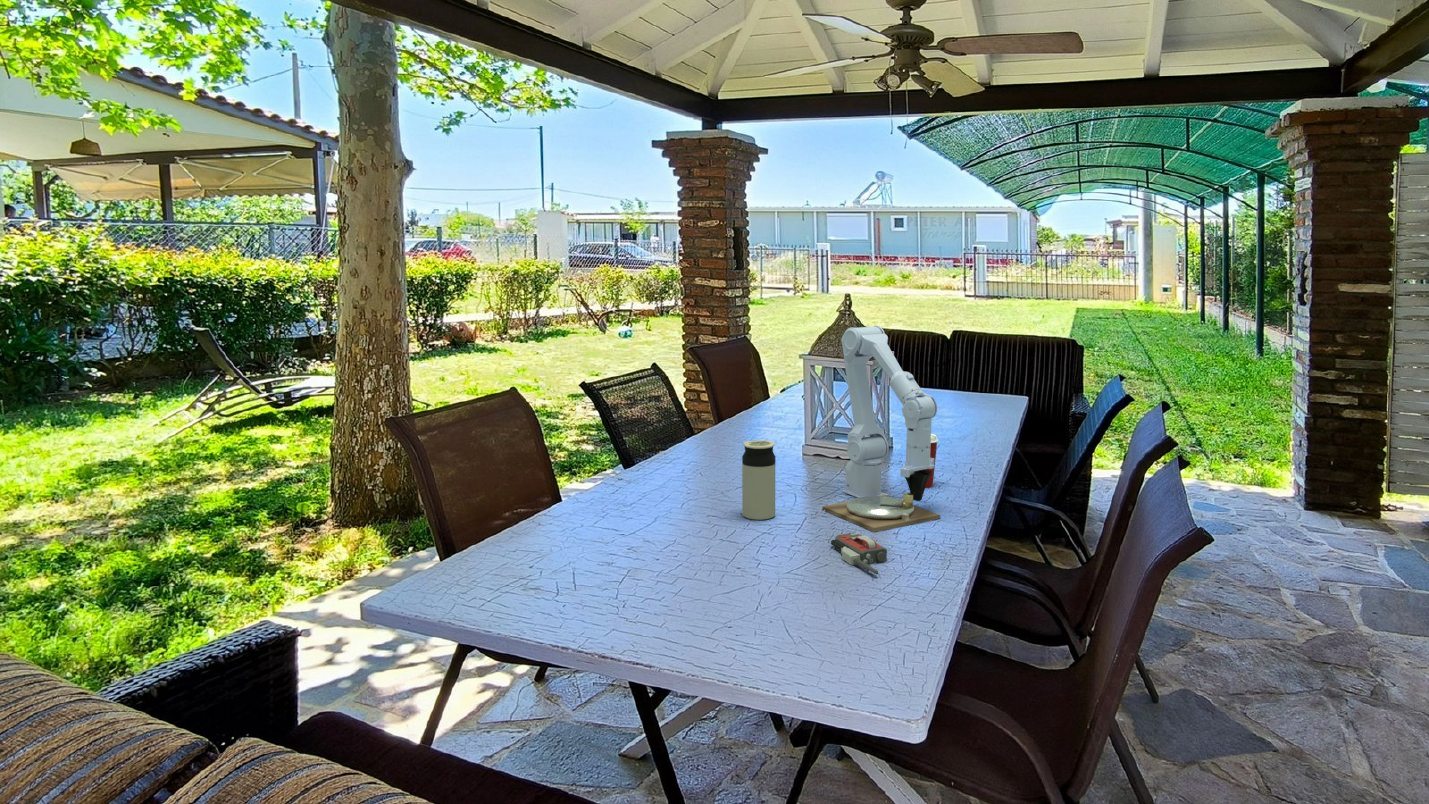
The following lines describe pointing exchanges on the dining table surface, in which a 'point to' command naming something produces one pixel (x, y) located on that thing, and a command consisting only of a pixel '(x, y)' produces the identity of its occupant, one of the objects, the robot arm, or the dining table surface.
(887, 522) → the dial base
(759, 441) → the travel mug
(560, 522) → the dining table surface
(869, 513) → the capstan dial
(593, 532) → the dining table surface
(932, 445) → the paper cup
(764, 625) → the dining table surface
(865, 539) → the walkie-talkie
